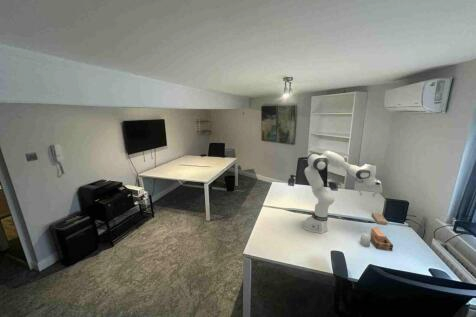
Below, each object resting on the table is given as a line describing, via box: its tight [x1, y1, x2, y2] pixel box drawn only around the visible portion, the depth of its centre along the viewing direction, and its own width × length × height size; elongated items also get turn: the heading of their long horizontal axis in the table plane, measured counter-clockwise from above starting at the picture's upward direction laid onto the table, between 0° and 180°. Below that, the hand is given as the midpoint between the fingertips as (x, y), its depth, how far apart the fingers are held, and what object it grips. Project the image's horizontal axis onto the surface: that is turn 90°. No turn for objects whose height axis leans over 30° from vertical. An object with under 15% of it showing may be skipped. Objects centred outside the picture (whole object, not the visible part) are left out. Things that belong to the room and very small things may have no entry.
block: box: [370, 226, 386, 243], centre depth 157 cm, size 5×12×8 cm, turn 167°
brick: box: [371, 212, 388, 226], centre depth 186 cm, size 16×8×5 cm, turn 162°
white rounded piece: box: [359, 231, 371, 248], centre depth 152 cm, size 6×6×9 cm
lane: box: [369, 233, 394, 252], centre depth 151 cm, size 11×12×5 cm
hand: (367, 195), depth 166 cm, fingers open, 8 cm apart
